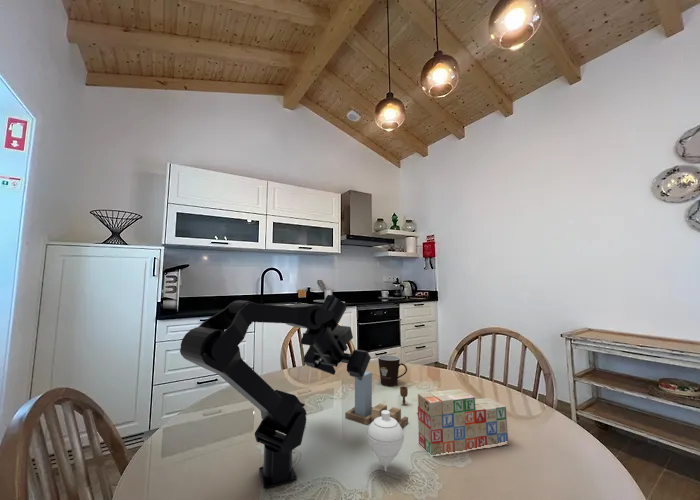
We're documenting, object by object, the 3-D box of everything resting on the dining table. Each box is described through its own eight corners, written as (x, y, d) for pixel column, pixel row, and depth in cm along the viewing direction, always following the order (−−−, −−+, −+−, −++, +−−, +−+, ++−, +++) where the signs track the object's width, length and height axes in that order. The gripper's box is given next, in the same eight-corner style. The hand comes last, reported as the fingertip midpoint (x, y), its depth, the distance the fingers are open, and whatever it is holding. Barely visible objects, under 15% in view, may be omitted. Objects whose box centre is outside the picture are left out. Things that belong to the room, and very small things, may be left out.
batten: (364, 420, 86) (365, 375, 88) (354, 417, 88) (355, 373, 90) (371, 415, 89) (371, 372, 91) (361, 412, 91) (362, 370, 93)
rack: (395, 434, 79) (395, 428, 79) (345, 418, 88) (345, 412, 88) (408, 422, 85) (408, 417, 85) (359, 408, 94) (359, 403, 94)
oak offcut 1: (378, 426, 83) (378, 411, 83) (371, 423, 84) (371, 409, 85) (387, 419, 87) (387, 405, 88) (379, 417, 88) (379, 403, 89)
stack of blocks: (490, 433, 80) (488, 385, 81) (508, 446, 74) (506, 394, 75) (418, 444, 74) (417, 392, 76) (431, 458, 68) (430, 401, 69)
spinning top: (400, 460, 67) (399, 404, 68) (407, 483, 59) (407, 419, 61) (365, 460, 67) (366, 404, 68) (369, 483, 59) (369, 419, 60)
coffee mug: (374, 381, 120) (374, 356, 121) (392, 379, 124) (392, 354, 125) (389, 391, 110) (389, 363, 111) (409, 388, 113) (408, 361, 114)
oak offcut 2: (393, 430, 81) (393, 415, 81) (385, 428, 82) (385, 412, 82) (401, 423, 85) (400, 408, 85) (393, 421, 86) (393, 406, 86)
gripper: (367, 319, 76) (386, 356, 84) (311, 314, 86) (333, 347, 94) (350, 357, 69) (372, 393, 77) (291, 347, 79) (316, 379, 87)
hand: (347, 376), depth 84 cm, fingers open, 9 cm apart
